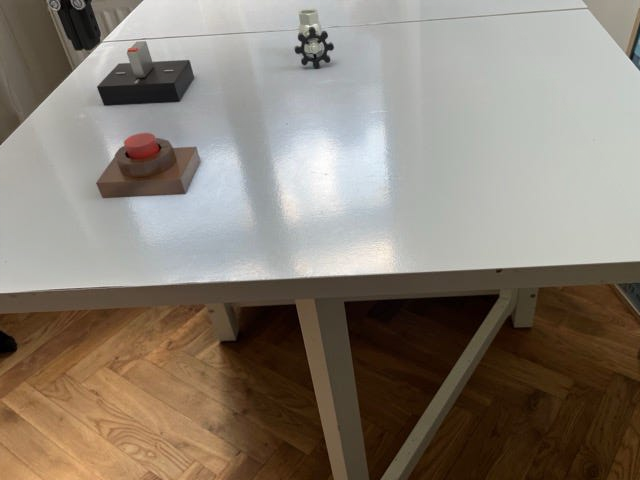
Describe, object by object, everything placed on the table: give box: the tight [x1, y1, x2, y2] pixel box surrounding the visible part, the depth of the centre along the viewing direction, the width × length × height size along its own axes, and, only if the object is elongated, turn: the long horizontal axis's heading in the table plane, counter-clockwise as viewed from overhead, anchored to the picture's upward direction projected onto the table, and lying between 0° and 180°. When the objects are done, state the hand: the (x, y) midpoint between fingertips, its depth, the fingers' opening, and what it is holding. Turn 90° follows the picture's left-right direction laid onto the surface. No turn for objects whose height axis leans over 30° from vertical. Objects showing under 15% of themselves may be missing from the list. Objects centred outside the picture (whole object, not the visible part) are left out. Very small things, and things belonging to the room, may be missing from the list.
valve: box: [294, 8, 335, 70], centre depth 97 cm, size 7×7×12 cm
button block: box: [95, 137, 202, 199], centre depth 68 cm, size 10×8×4 cm
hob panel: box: [96, 59, 195, 106], centre depth 90 cm, size 12×10×3 cm
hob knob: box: [126, 40, 154, 78], centre depth 87 cm, size 5×2×4 cm, turn 2°
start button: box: [123, 132, 160, 159], centre depth 66 cm, size 4×4×2 cm
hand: (88, 46), depth 60 cm, fingers closed
